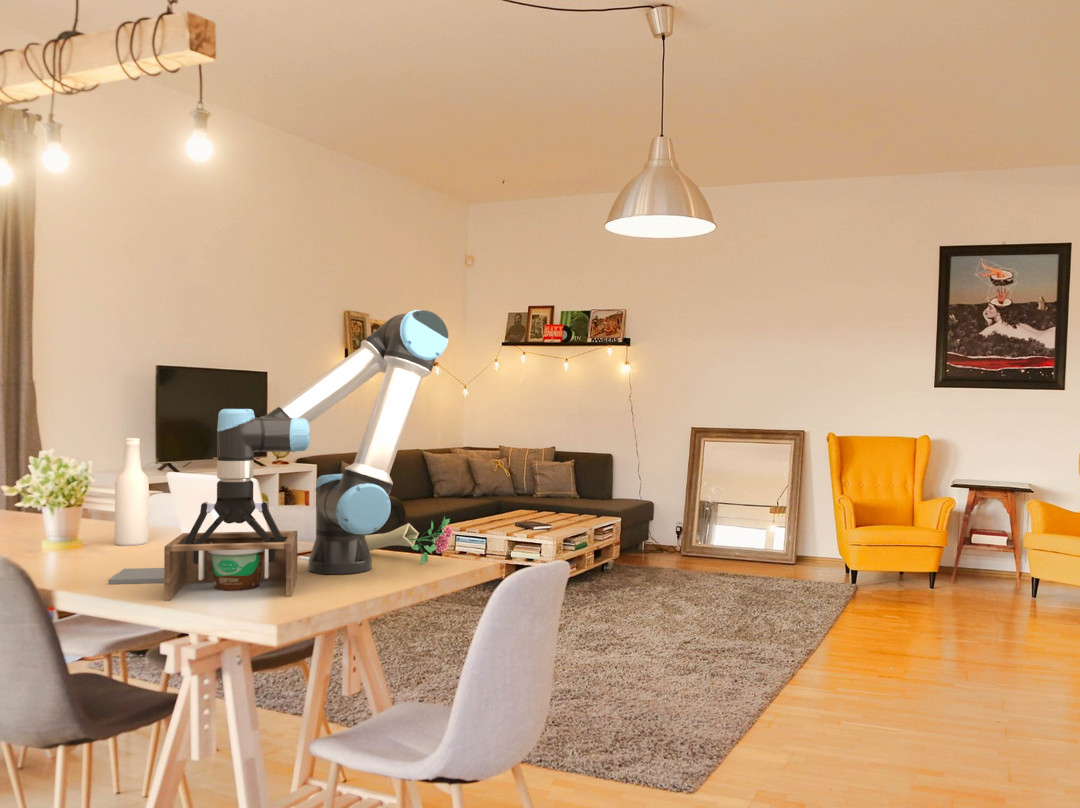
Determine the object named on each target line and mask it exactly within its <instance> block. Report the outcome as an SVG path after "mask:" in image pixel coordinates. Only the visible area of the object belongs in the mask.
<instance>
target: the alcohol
mask: <svg viewBox="0 0 1080 808" xmlns="http://www.w3.org/2000/svg"><path fill="white" fill-rule="evenodd" d="M140 441H141V439H140V438H138V437H126V438H125V439H124V453H123V455H124V456H123V466H122V470H121V472H120V473H119V474H118V475H117V477H116V479H115V482H114V543H115V544H116V545H117V546H121V547H126V546H127V547H130V546H132V547H133V546H143V545H146V544H147V543H148V541H149V540H150V539H149V533H150V532H149V530H150V529H149V525H150V523H149V521H150V519H149V517H150V515H149V513H150V512H149V511H150V509H149V507H150V504H149V503H150V502H149V501H150V500H149V499H150V495H149V494H150V487H149V486H150V484H149V483H150V482H149V479H148V478H149V477H148V475H147V474H146V473H145V472H144V471H143V469H142V464H141V463H142V460H141V449H140V447H141V446H140V444H141V442H140Z"/></svg>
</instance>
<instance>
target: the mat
mask: <svg viewBox="0 0 1080 808" xmlns="http://www.w3.org/2000/svg"><path fill="white" fill-rule="evenodd" d="M107 582H108V585H124V584H125V585H127V584H129V585H130V584H133V585H134V584H160V583H161V584H163V583H164V567H147V568H145V567H141V568H137V567H135V568H123V569H121V570H120V571H119V572H117V573H116V574H115V575H113V576H112V577H111V578H109V579H108V581H107Z"/></svg>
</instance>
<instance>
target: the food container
mask: <svg viewBox="0 0 1080 808" xmlns="http://www.w3.org/2000/svg"><path fill="white" fill-rule="evenodd" d="M258 543H264V541H262V542H258ZM211 544H213V543H212V541H211ZM263 551H265V549H252V550H209V551H208V552H209V553H211V555H212V565H213V575H214V582H213V586H214V589H215V590H217V591H222V592H237V591H238V592H241V591H249V590H252V589H253V590H254V589H257V588H258V587H259V588H260V583H261V581H260V576H261V567H262V558H263Z"/></svg>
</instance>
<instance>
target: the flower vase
mask: <svg viewBox="0 0 1080 808" xmlns="http://www.w3.org/2000/svg"><path fill="white" fill-rule="evenodd" d="M450 520H451V518H446V516H445V515H444V517H443V520H442V521H441V524H440V526H439V528H438V530H437V531H435V532H434V533H433V532H432V531H433V530H434V522H433V521H431V523H430V528H428V529H427V533H428V535H427V536H423V535H424V534H426V532H424V533H423V534H422V535H421V537H419V538H418V536H419V534H420V532H418V530H416V528H414V527H413V525H411V524H410V522H407V523H406V524H404V525H401V526H399V527H398V528H396V529H393V530H391V531H388V532H385V533H377V534H376V533H375V534H365V539H366V542H367V545H368V548H369V551H370V552H372V551H375V550H378V549H381V548H385V547H390V546H403V547H409V548H410V547H411V549H412V550H414V551H415V550H416V551H419V550H420V549H422V548H421V545H422V546H423V548H424V549H425V550H426V551H427V552H424V551H420V552H421V555H420V565H423V564H424V563H425V562H428V559H429V554H428V553H430V554H431V555H432V554H433V552H434V551H435V553H436V554H441V553H444V552H445V551H446V550H448V548H449V542H450V540H449V539H450V538H452V536H453V533H454V530H453V528H452V526H451V525H449V526H448V524H449V523H450ZM441 530H443V531H442V532H440V531H441ZM432 533H433V534H432ZM433 536H434V537H433ZM431 537H432V539H428V538H431ZM416 541H417V542H418V543H420V546H419V544H416ZM420 541H421V542H422V541H426V542H432V545H431V546H429V545H423V544H422V543H421V542H420Z"/></svg>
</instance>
